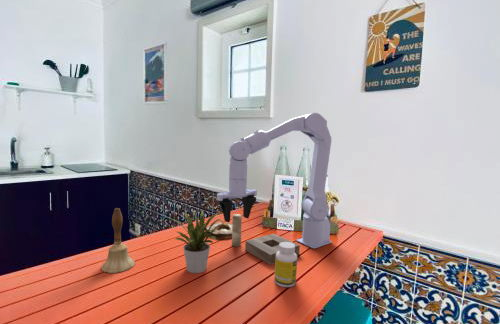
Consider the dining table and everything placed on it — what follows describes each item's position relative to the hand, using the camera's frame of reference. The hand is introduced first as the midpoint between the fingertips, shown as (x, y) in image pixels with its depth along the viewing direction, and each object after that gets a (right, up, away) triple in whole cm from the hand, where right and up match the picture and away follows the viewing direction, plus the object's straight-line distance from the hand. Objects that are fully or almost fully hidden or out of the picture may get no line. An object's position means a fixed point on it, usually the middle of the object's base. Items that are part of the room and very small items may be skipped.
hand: (236, 219), depth 92 cm
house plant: (-9, -10, -16) cm, 21 cm away
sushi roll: (-6, -8, +12) cm, 15 cm away
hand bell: (-32, -10, -16) cm, 37 cm away
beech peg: (0, -9, +1) cm, 9 cm away
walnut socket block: (+11, -10, -4) cm, 15 cm away
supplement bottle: (+13, -12, -21) cm, 28 cm away
